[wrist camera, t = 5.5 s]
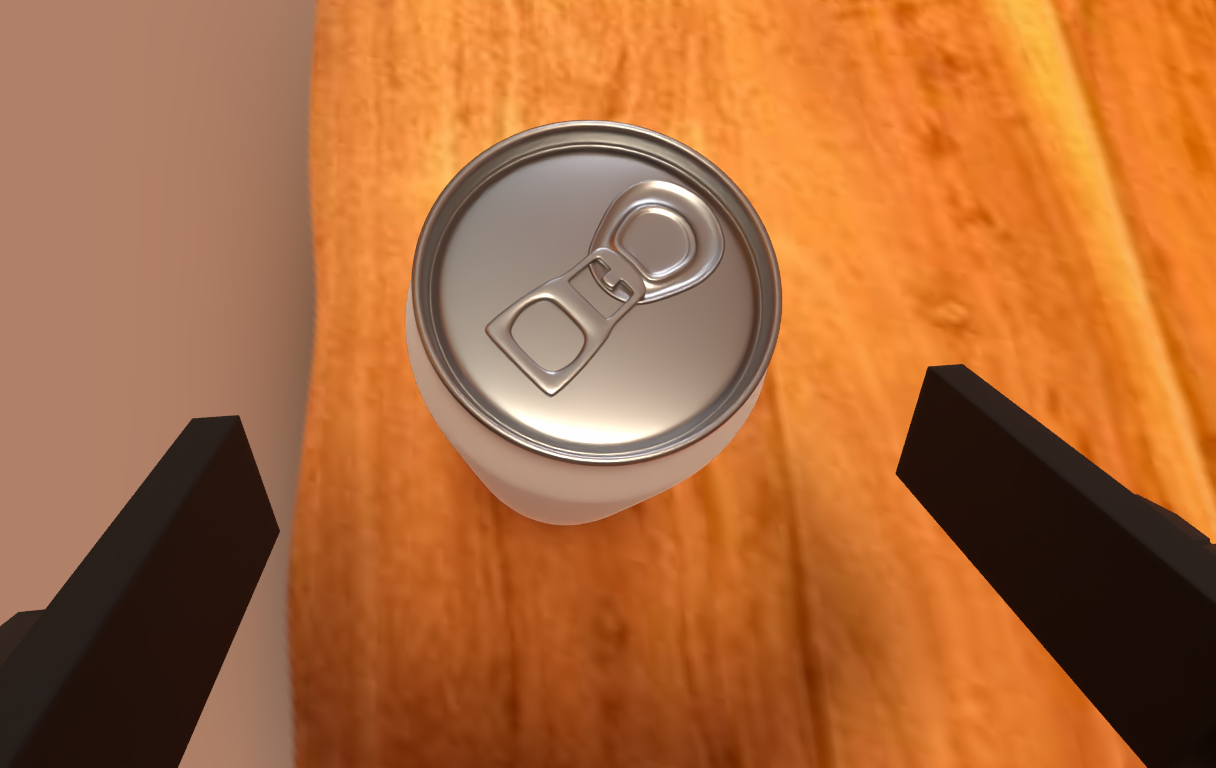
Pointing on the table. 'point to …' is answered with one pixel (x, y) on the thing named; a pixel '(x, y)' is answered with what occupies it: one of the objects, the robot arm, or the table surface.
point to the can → (591, 316)
